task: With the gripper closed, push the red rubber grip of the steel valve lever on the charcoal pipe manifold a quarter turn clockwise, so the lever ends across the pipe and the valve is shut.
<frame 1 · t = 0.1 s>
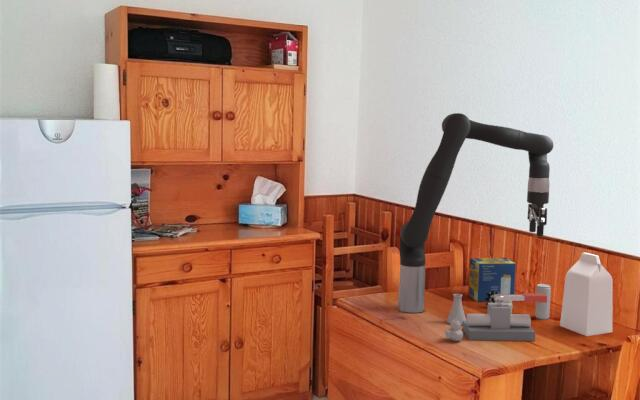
hand: (536, 234, 239), 29 cm above the table, fingers open, 8 cm apart
milk: (585, 329, 223), on the table
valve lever: (520, 297, 214), point 13 cm above the table, hinge at 0.0°
rubber duck: (453, 341, 209), on the table
beverage can: (542, 318, 235), on the table
protein box: (490, 298, 261), on the table
pipe manifold: (497, 334, 215), on the table
valve: (500, 312, 243), on the table
flask: (456, 323, 228), on the table
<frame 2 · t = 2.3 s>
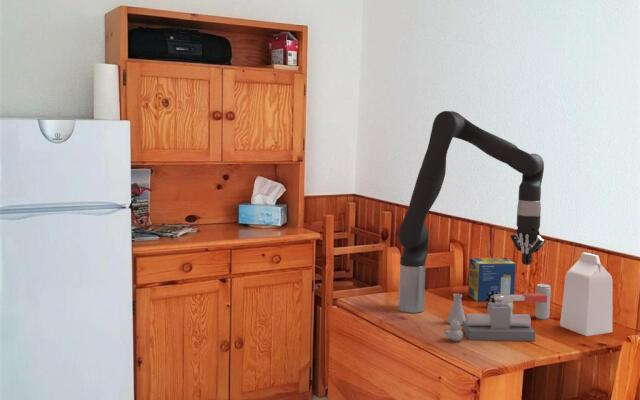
hand: (526, 264, 220), 22 cm above the table, fingers closed
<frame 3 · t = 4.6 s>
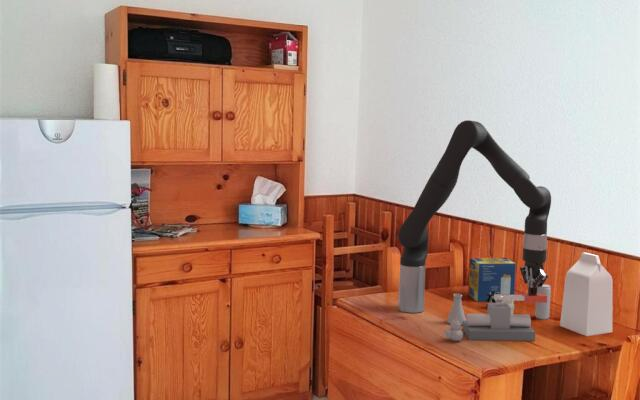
hand: (532, 298, 217), 12 cm above the table, fingers closed
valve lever: (520, 297, 214), point 13 cm above the table, hinge at 0.0°, touching gripper
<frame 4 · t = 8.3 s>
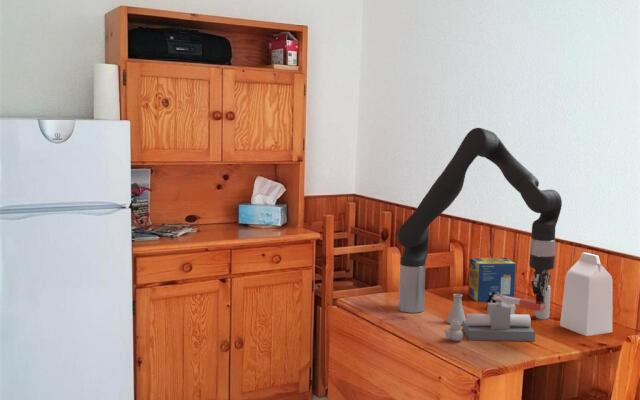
hand: (539, 306, 208), 12 cm above the table, fingers closed
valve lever: (518, 301, 209), point 13 cm above the table, hinge at -44.3°, touching gripper
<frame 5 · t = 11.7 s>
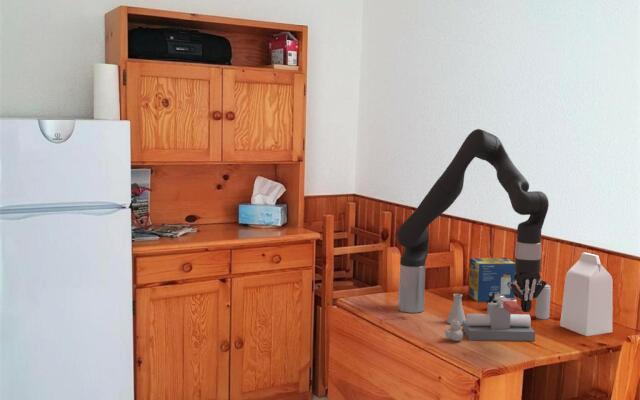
hand: (525, 311, 201), 12 cm above the table, fingers closed
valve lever: (506, 303, 207), point 13 cm above the table, hinge at -84.9°
valve: (503, 314, 240), on the table
everything else where it was.
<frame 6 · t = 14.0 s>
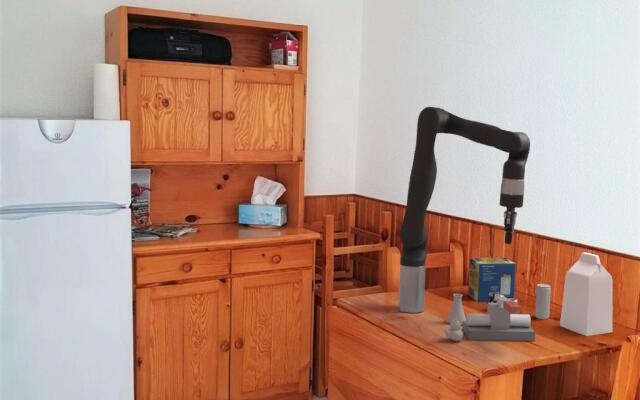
hand: (508, 243, 219), 29 cm above the table, fingers closed
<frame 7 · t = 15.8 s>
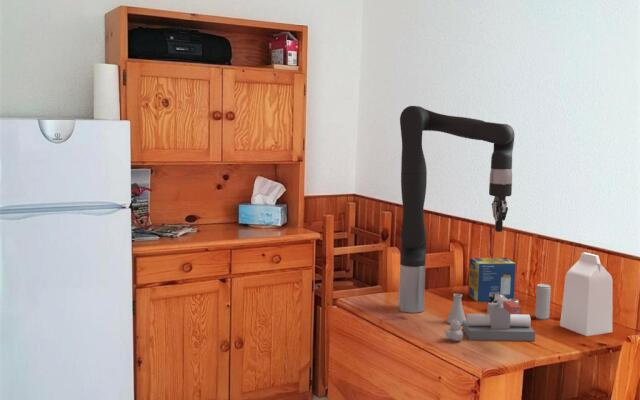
hand: (498, 231, 227), 32 cm above the table, fingers closed
at the end: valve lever at -85° (first picture: +0°) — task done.
